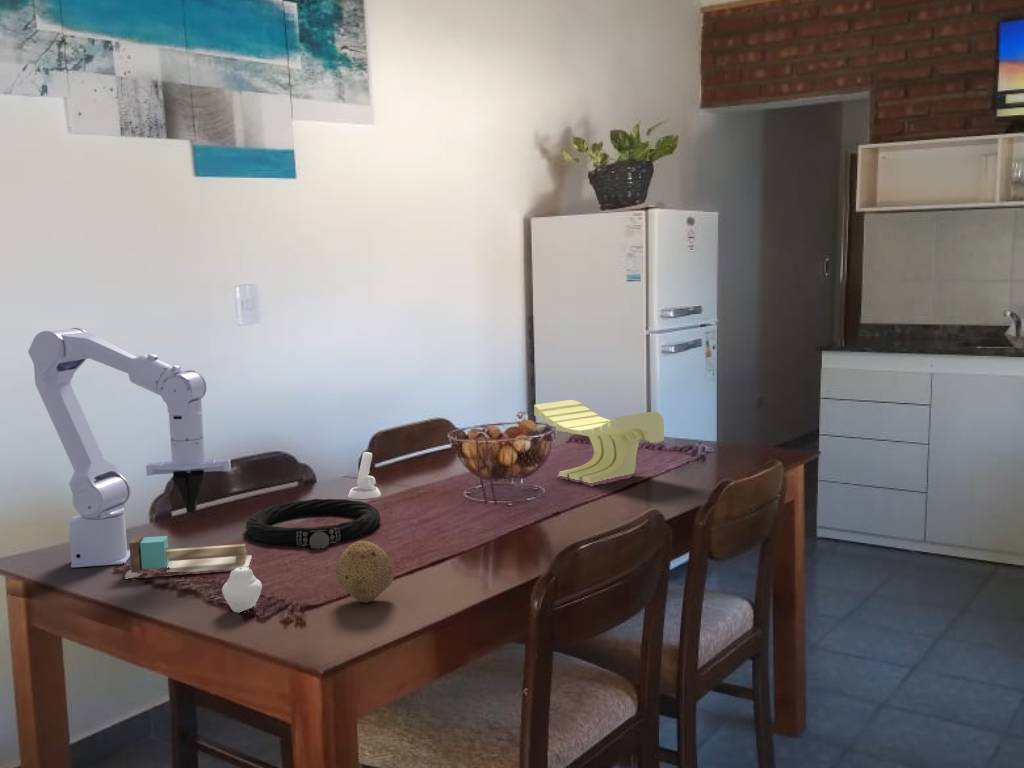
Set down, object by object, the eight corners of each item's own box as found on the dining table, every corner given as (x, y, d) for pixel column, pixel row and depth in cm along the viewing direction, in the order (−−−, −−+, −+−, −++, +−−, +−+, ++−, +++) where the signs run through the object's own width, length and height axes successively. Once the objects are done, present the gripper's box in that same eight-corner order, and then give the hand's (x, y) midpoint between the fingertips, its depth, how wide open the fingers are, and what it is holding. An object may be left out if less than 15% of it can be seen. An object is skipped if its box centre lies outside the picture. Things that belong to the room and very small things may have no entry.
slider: (142, 569, 172) (140, 543, 171) (146, 563, 176) (144, 537, 175) (165, 567, 173) (163, 541, 172) (169, 561, 176) (167, 535, 176)
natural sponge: (324, 605, 155) (321, 544, 154) (360, 588, 162) (358, 530, 161) (368, 614, 150) (365, 552, 149) (403, 597, 158) (401, 537, 156)
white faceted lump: (269, 610, 153) (266, 567, 152) (231, 619, 150) (228, 575, 149) (254, 600, 158) (252, 558, 157) (217, 608, 155) (215, 565, 154)
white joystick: (384, 466, 238) (387, 454, 232) (377, 511, 232) (380, 501, 226) (354, 461, 237) (356, 449, 231) (346, 506, 231) (348, 495, 225)
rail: (125, 580, 170) (122, 545, 169) (133, 568, 177) (131, 535, 176) (248, 570, 174) (246, 536, 173) (251, 559, 181) (250, 526, 180)
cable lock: (371, 492, 218) (390, 525, 189) (372, 508, 219) (391, 544, 190) (244, 502, 211) (244, 538, 182) (245, 520, 211) (245, 558, 183)
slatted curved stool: (664, 482, 236) (663, 409, 234) (616, 492, 226) (615, 417, 224) (581, 464, 259) (580, 398, 257) (535, 473, 250) (534, 404, 248)
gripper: (140, 444, 171) (145, 519, 173) (225, 440, 173) (229, 514, 175) (148, 437, 178) (153, 509, 179) (230, 433, 180) (234, 505, 182)
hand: (191, 511), depth 178 cm, fingers closed
